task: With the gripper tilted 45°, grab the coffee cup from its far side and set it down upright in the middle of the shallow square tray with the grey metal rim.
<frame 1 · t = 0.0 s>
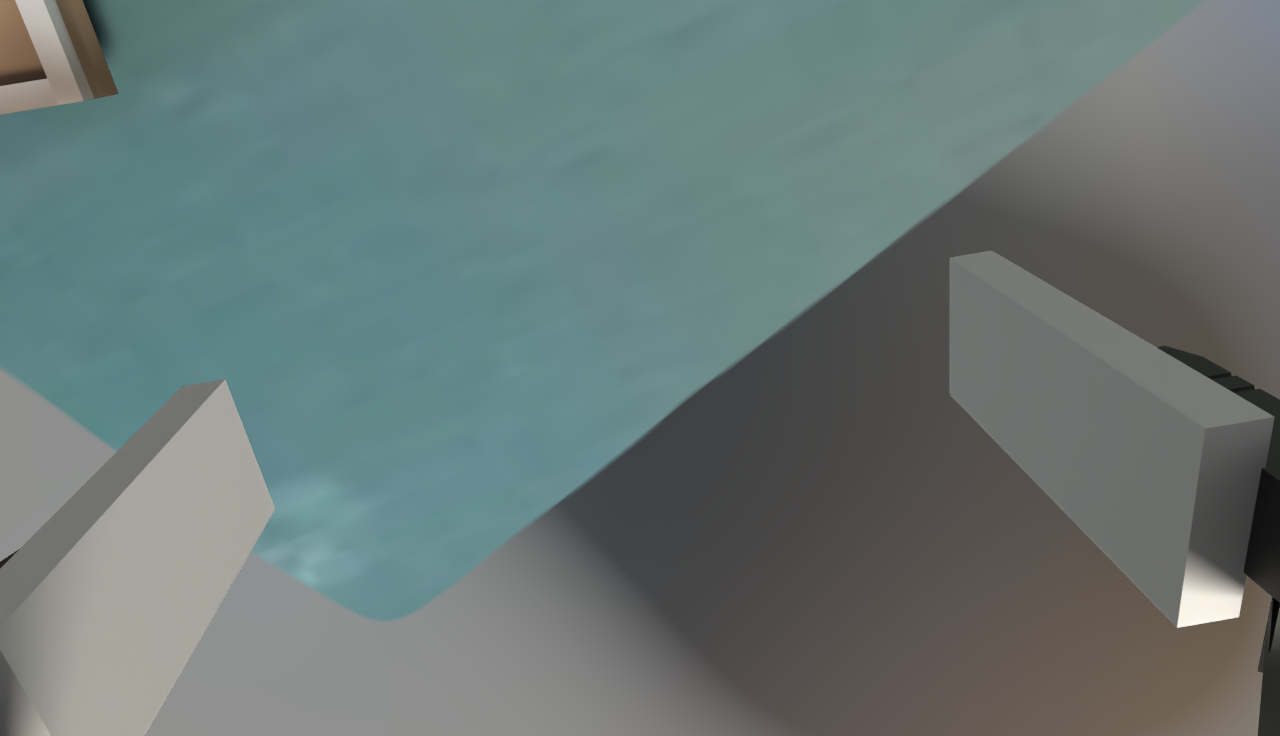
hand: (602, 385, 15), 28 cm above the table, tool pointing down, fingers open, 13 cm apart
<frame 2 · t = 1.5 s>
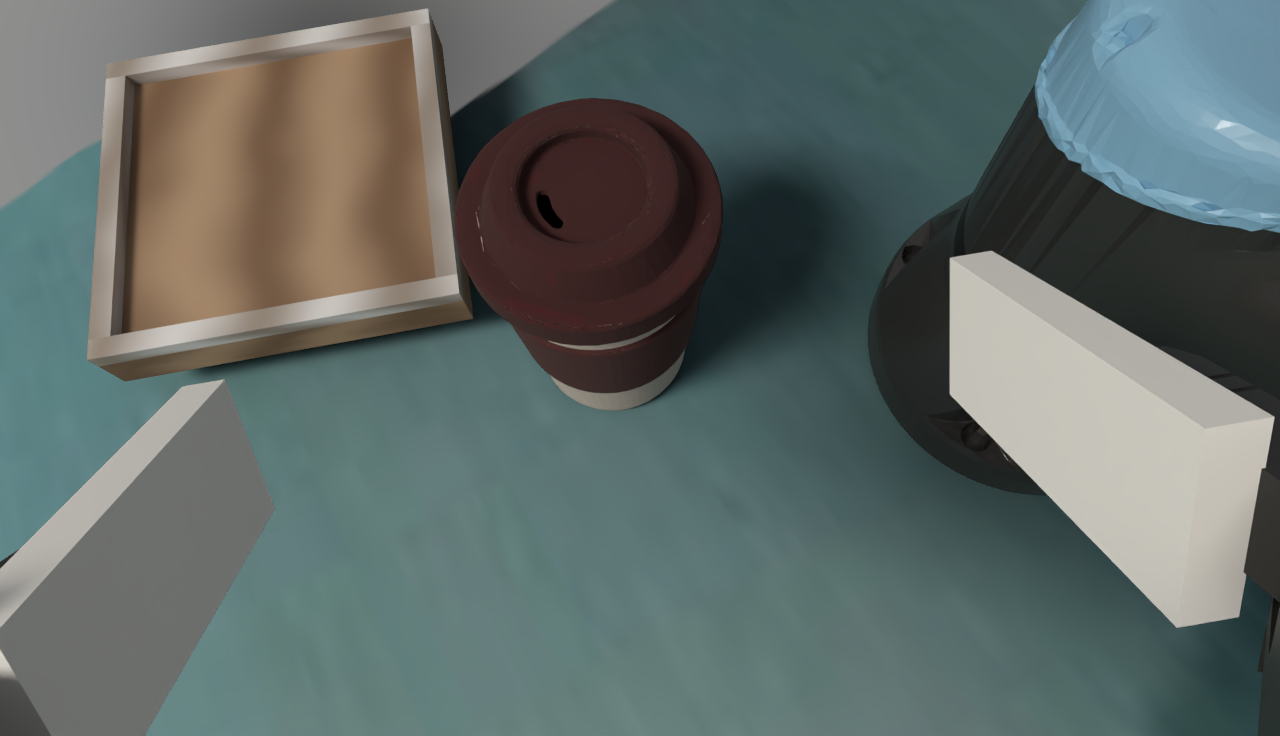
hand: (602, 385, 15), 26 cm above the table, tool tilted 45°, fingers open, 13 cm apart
shallow square tray: (318, 230, 47), on the table
coffee cup: (614, 348, 44), on the table
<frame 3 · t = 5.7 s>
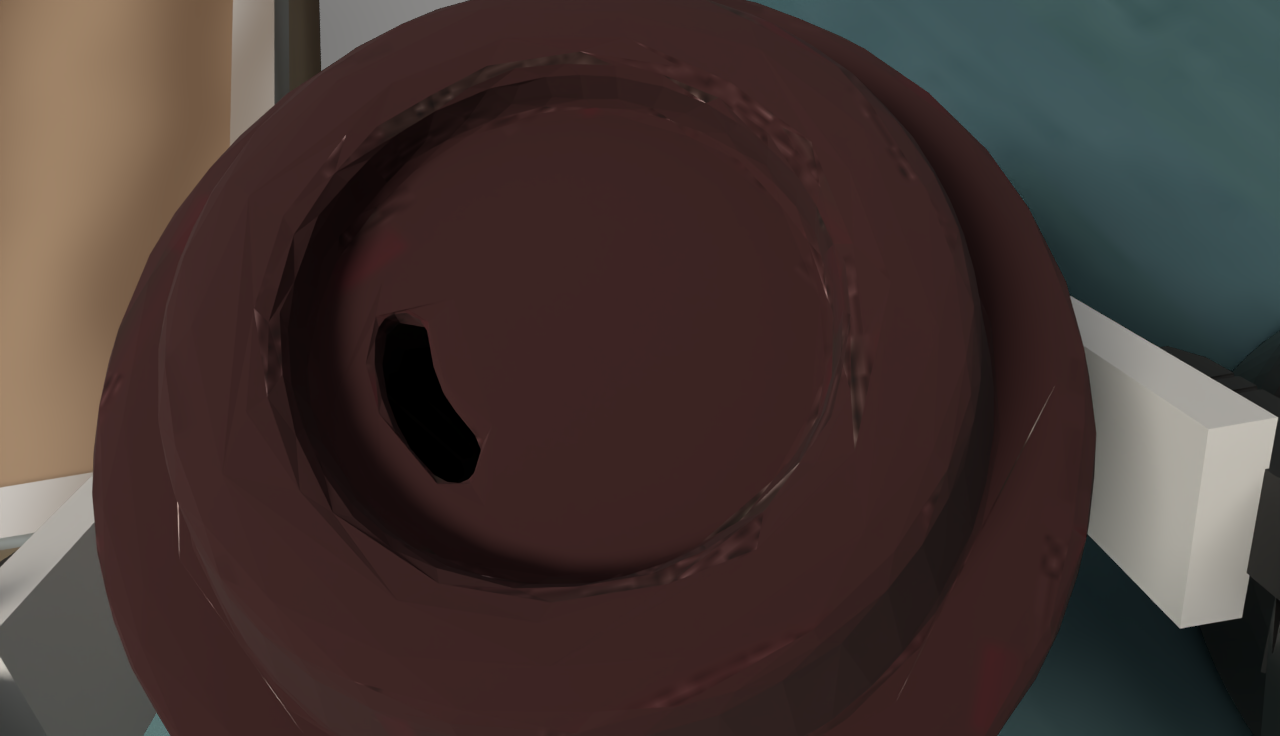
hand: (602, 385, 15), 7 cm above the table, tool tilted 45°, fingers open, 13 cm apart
shallow square tray: (72, 297, 24), on the table
coffee cup: (643, 558, 21), on the table
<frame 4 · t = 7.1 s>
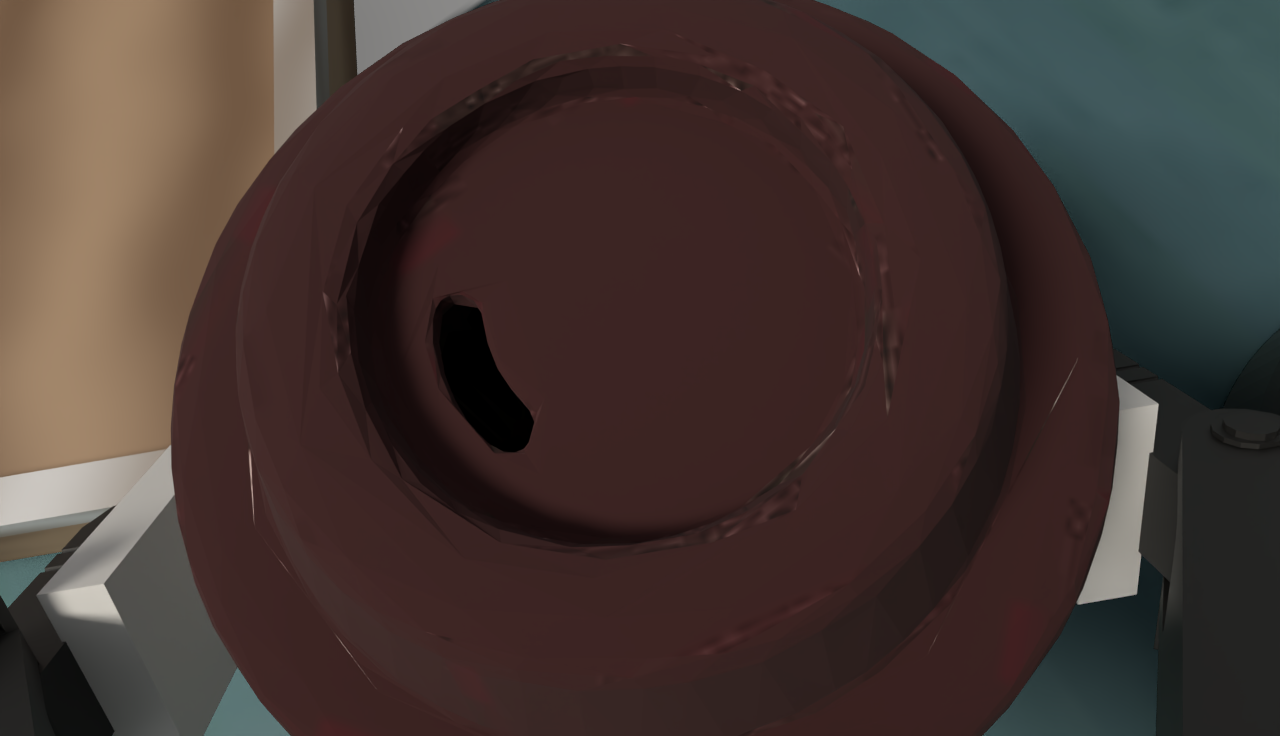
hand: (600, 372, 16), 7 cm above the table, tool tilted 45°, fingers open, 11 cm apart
shallow square tray: (118, 284, 25), on the table
coffee cup: (675, 535, 22), on the table, touching gripper
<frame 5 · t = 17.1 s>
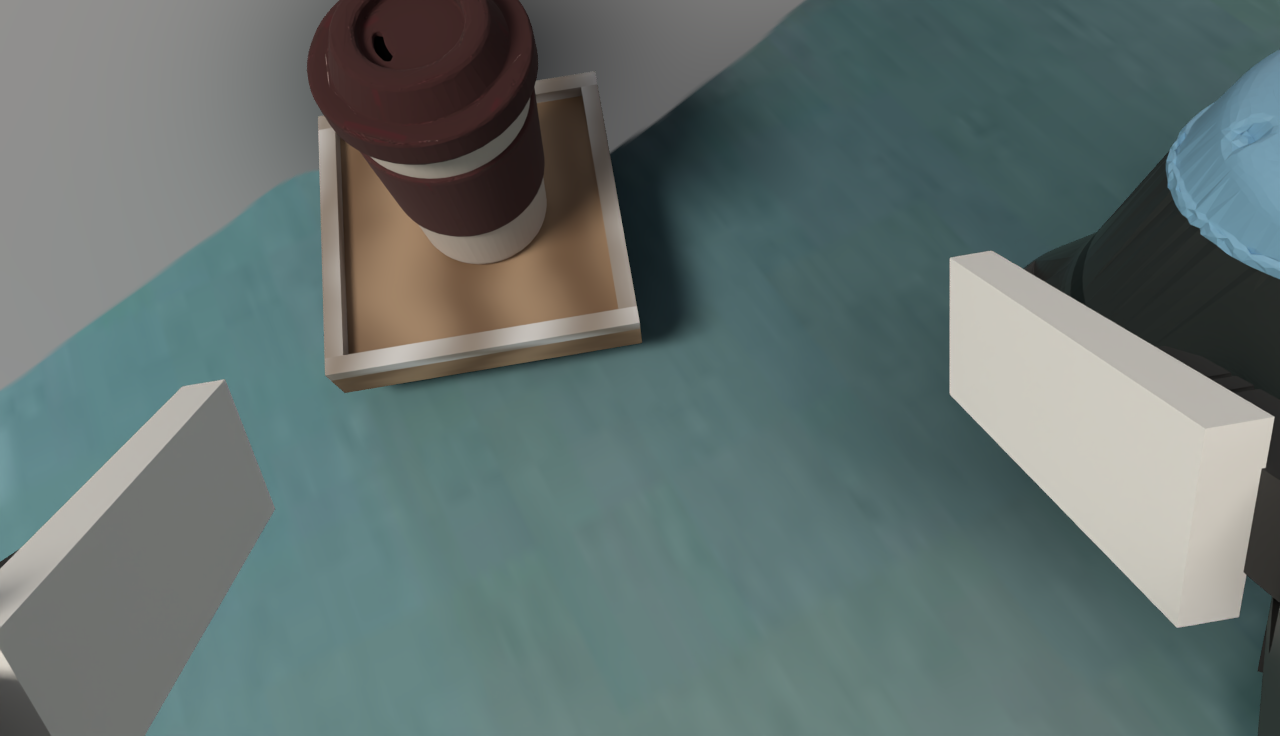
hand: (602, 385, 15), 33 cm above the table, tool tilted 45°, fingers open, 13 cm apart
shallow square tray: (490, 261, 54), on the table
coffee cup: (486, 213, 49), point 5 cm above the table, touching shallow square tray
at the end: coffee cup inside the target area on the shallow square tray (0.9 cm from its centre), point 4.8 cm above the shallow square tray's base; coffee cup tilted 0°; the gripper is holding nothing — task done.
